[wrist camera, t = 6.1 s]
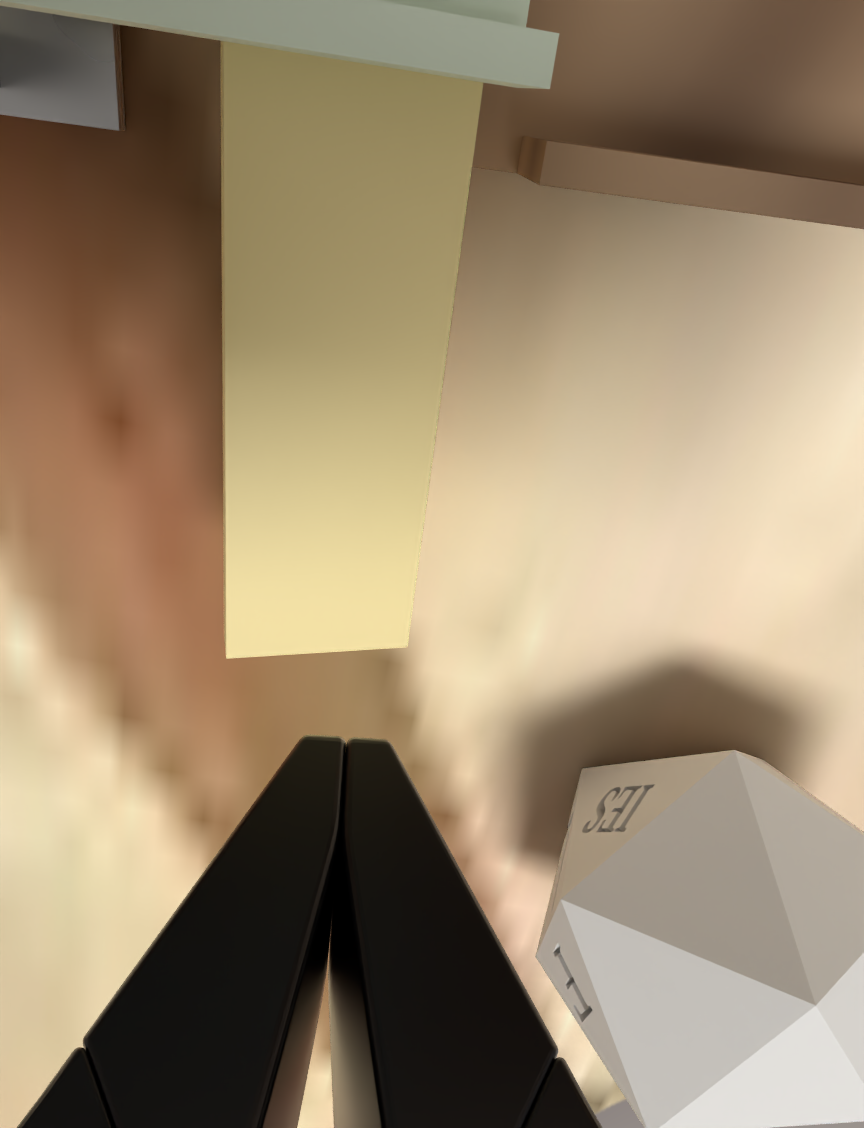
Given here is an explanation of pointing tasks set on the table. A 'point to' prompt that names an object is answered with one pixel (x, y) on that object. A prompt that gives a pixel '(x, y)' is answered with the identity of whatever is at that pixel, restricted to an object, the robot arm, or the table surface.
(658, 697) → the table surface
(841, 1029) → the die
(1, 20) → the fulcrum
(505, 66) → the lever
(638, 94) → the tray
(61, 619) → the table surface
